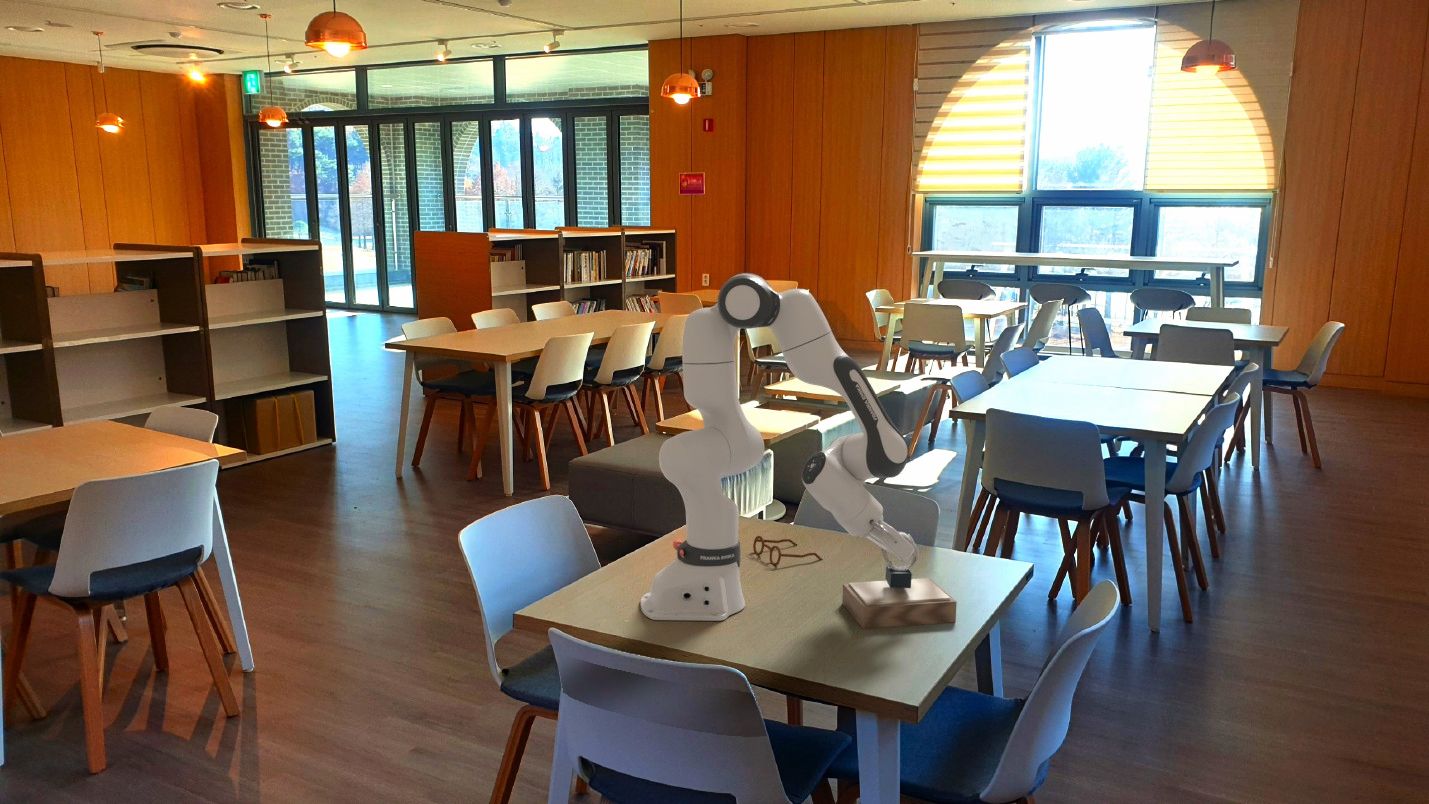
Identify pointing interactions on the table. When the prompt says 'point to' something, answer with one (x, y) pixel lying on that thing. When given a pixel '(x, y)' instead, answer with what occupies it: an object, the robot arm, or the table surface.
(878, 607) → the display riser
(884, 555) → the watch
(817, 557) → the glasses
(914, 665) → the table surface
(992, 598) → the table surface
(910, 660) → the table surface
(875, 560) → the table surface
